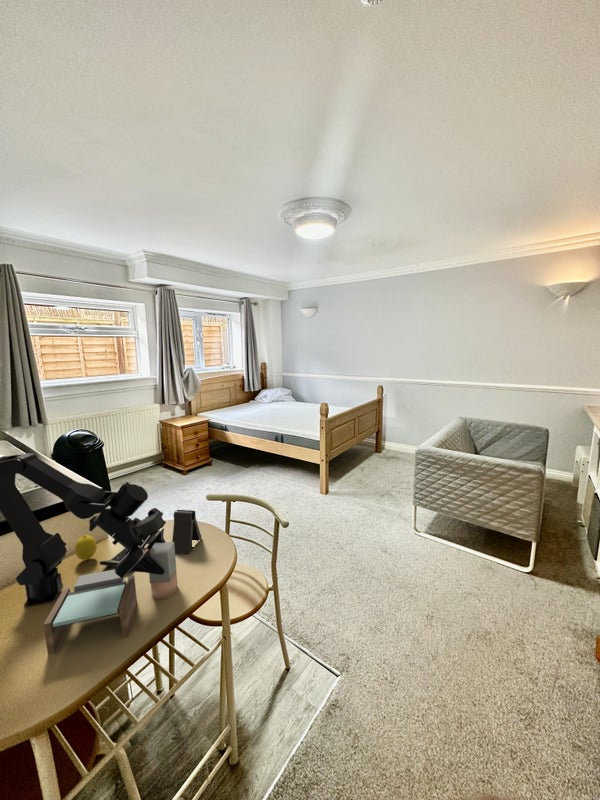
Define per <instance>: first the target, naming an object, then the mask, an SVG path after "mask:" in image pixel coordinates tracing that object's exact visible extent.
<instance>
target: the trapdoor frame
mask: <svg viewBox="0 0 600 800" xmlns="http://www.w3.org/2000/svg"><path fill="white" fill-rule="evenodd" d="M135 579H136V578H135V574H134V575H129V576H128V577H127V581H126V583H127V584H126V587H125V591H124V594H123V597H122V600H121V604H120V607H119V610H118V612H119V618H120V619H119V621H120V627H121V635H122V636H121V637H122V638H126V637H129V635H130V630H131V628H132V623H133V619H134V615H135V610H136V606H137V602H138V598H137V589H136V580H135ZM69 592H71V589H70V587H66V588H63V590H62V591H61V593H60V595H59V596H58V598H57V600H56V602H55V603H54V605H53V607H52V609H51V610H50V612H49V614H48V615H47V617H46V619H45V621H44V623H43V630H44V637H45V645H46V651H47V656H52V655H54V654H56V652H57V650H58V648H59V647H60V644H61V641H62V640H63V638H64V635H65V634H66V631H67V629H68V628H69V625H70V623H69V624H65V625H60V626H56V627H53V622H54V620H55V619H56V617H57V615H58V613H59V611H60V609H61V607H62V606H63V604H64V602H65V600H66V598H67V596H68V593H69Z"/></svg>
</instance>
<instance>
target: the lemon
mask: <svg viewBox="0 0 600 800" xmlns="http://www.w3.org/2000/svg"><path fill="white" fill-rule="evenodd" d="M97 550H98V549H97V541H96V539H95V538H94V537H93V536H92V535H86V534H85V535H83V536H82V537H80V538H78V540H76V543H75V545H74V554H75V556H76V557H77V559H80V560H83V561H84V560H85V561H88V560H90V559H91V558H92V557H93V556H94V555H95V554H96V551H97Z"/></svg>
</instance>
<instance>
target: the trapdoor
mask: <svg viewBox="0 0 600 800" xmlns="http://www.w3.org/2000/svg"><path fill="white" fill-rule="evenodd" d="M125 577H126V575H125V576H124V577H123V578H120V577H119V576H118V575H117V574H115V569H111V570H105V571H104V570H103V571H99V572H95V573H90V574H89V573H88V574H84V575H83V574H82V575H79V576H78V578H77V580H76V582H75V584H74V586H73V591H70V592H69V593H68V596H67V598H66V600H65V602H64V604H63V606H62V607H61V609H60V611H59V613H58V615H57V617H56V619H55V620H54V622H53V627H56V626H60V625H65V624H69V625H70V624H73V623H77V622H82V621H86V620H93V619H95V618H101V617H105V616H110V615H115V614H118V613H119V607H120V604H121V600H122V597H123V594H124V591H125V587H126V584H127V581H126V580H125Z"/></svg>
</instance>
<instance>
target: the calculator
mask: <svg viewBox="0 0 600 800" xmlns="http://www.w3.org/2000/svg"><path fill="white" fill-rule="evenodd" d="M147 550H148V549H147V548H146V547H144V548H143V551H144V552H145V553H146V552H147ZM126 551H127V549H126V548H125V547H123V549H122V550H121V551H119V553H117V554H116V555H115V556H114V557H112V558H111V559H110V560H108V559H107V560H100V561H99V566H112V567H116V566H117V565H118V564H119V563H120V561H121V560H122V559H123V558H124V557H125V556H126V555H127V554H125V552H126ZM149 551H150V550H149Z"/></svg>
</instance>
